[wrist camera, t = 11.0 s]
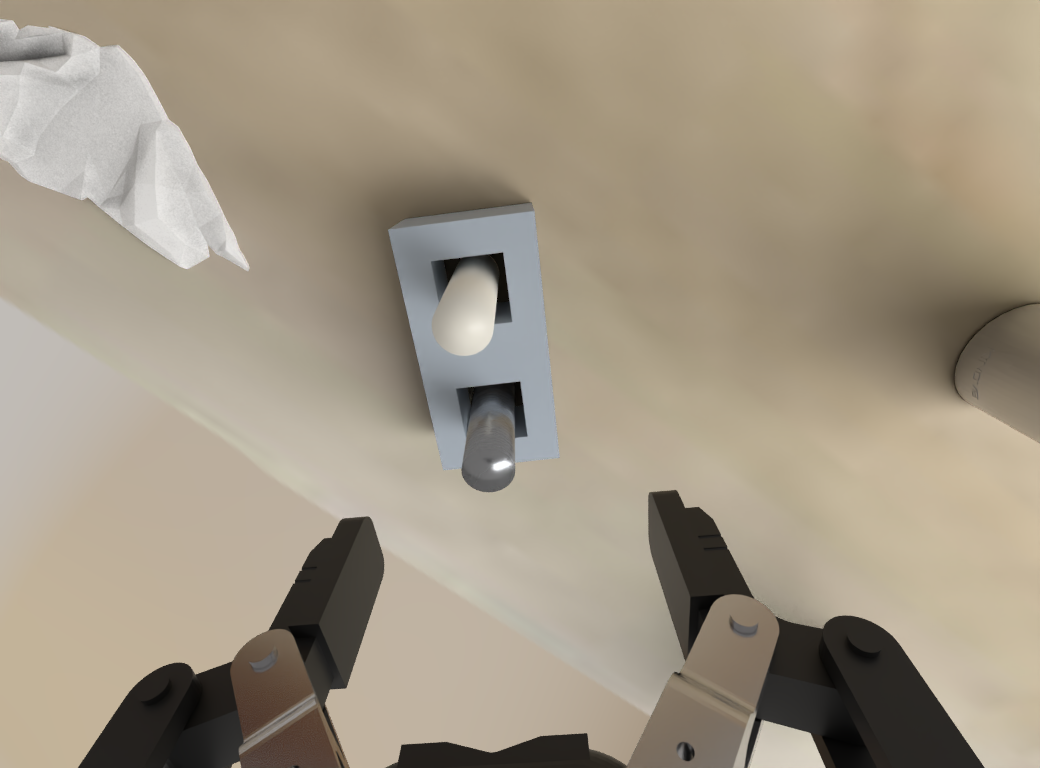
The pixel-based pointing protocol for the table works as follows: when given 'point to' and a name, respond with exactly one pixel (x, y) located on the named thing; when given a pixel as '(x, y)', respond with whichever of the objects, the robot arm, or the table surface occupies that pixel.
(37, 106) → the cloth
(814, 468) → the table surface
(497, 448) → the grey peg
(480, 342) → the cream peg
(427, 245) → the hole block
